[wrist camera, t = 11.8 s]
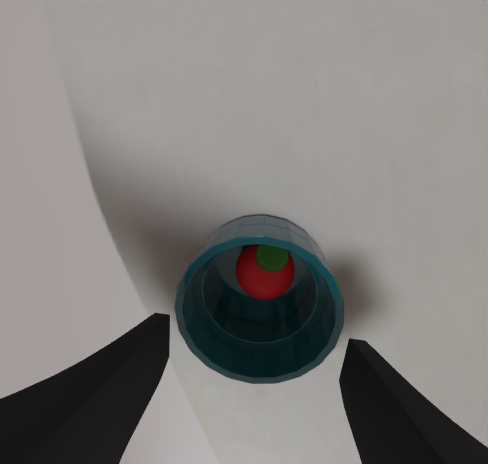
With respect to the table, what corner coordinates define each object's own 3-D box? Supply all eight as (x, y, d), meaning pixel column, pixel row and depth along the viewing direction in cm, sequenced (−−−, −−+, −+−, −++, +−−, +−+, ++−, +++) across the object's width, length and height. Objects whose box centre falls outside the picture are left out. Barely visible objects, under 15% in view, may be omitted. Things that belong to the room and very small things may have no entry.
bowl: (207, 331, 19) (189, 384, 14) (189, 219, 16) (161, 242, 12) (325, 327, 18) (344, 383, 13) (323, 208, 16) (344, 229, 11)
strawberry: (230, 303, 15) (236, 280, 12) (235, 253, 17) (242, 221, 14) (286, 310, 15) (306, 288, 12) (286, 259, 17) (303, 229, 14)
